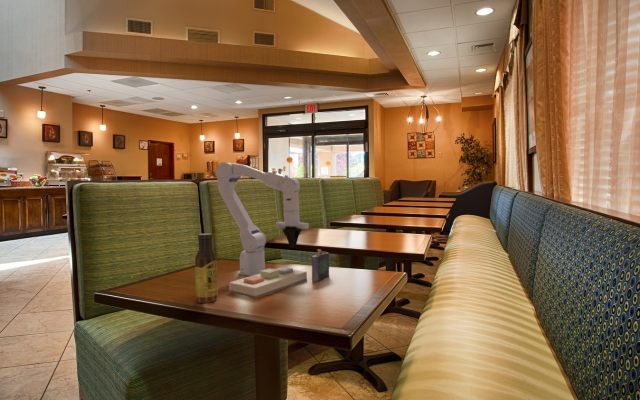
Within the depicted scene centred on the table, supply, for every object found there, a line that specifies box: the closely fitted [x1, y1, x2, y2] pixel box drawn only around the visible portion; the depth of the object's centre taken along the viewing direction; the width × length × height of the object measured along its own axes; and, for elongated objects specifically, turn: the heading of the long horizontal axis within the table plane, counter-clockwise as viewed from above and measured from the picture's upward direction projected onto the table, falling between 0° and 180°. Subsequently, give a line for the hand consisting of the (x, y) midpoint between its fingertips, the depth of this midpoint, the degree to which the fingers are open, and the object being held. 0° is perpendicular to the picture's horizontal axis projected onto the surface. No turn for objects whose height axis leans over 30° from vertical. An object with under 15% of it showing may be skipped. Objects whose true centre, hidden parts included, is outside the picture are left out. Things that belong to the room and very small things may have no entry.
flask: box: [311, 248, 330, 283], centre depth 130 cm, size 9×3×11 cm, turn 146°
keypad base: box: [228, 266, 308, 299], centre depth 123 cm, size 12×24×3 cm, turn 142°
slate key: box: [275, 266, 294, 275], centre depth 128 cm, size 4×4×3 cm
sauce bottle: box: [194, 233, 219, 304], centre depth 109 cm, size 7×6×20 cm
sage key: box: [260, 267, 279, 279], centre depth 122 cm, size 4×4×3 cm
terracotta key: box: [244, 276, 264, 285], centre depth 117 cm, size 4×4×3 cm
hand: (292, 247), depth 136 cm, fingers closed
